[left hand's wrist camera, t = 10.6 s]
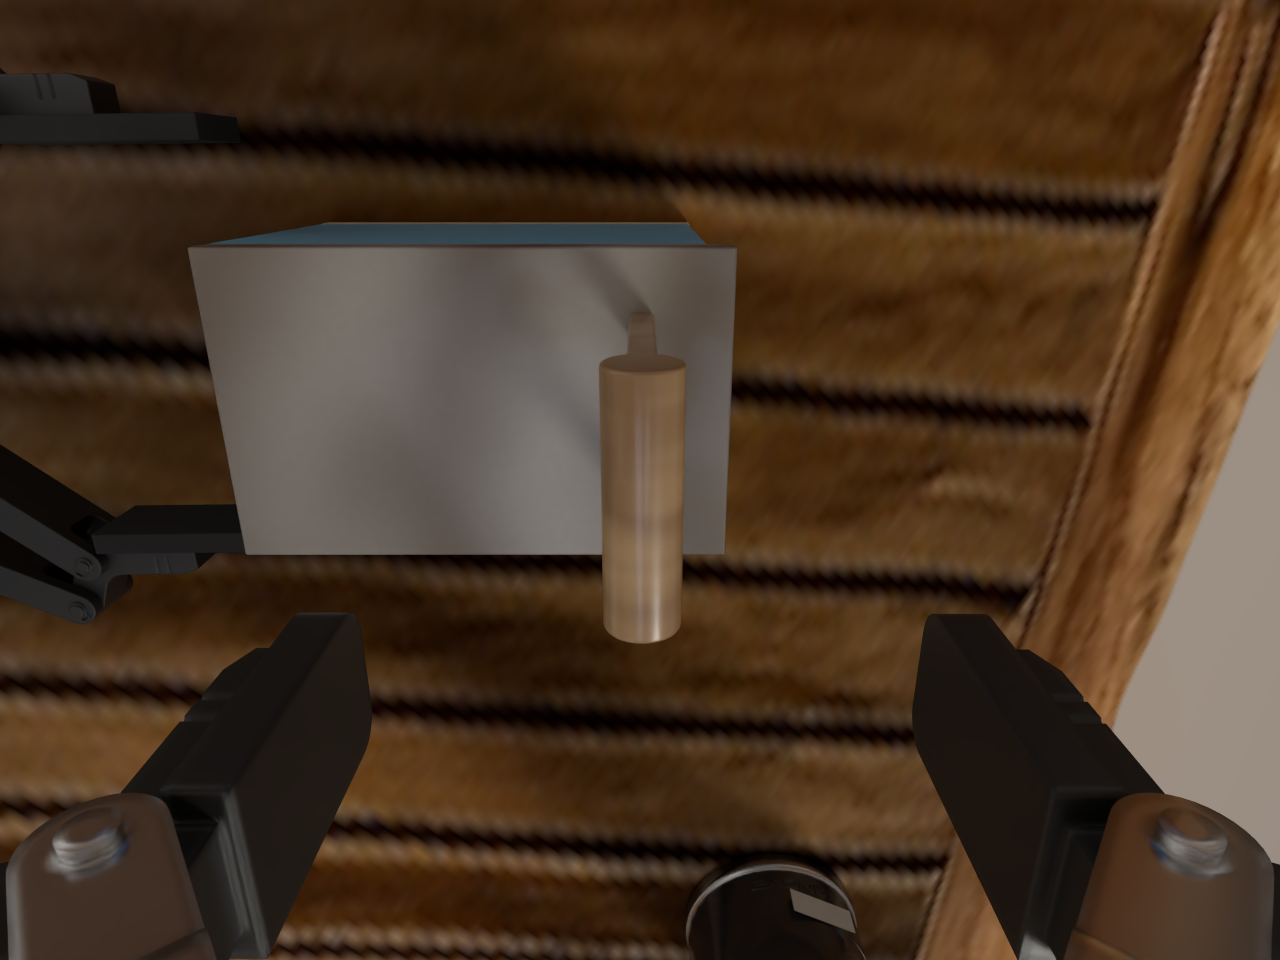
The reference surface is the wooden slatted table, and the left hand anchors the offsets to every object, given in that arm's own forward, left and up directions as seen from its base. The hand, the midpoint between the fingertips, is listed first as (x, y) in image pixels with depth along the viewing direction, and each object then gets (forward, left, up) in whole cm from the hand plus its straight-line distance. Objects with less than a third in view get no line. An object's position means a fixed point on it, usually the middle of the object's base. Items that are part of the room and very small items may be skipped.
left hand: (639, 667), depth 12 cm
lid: (-1, +5, -14) cm, 15 cm away
